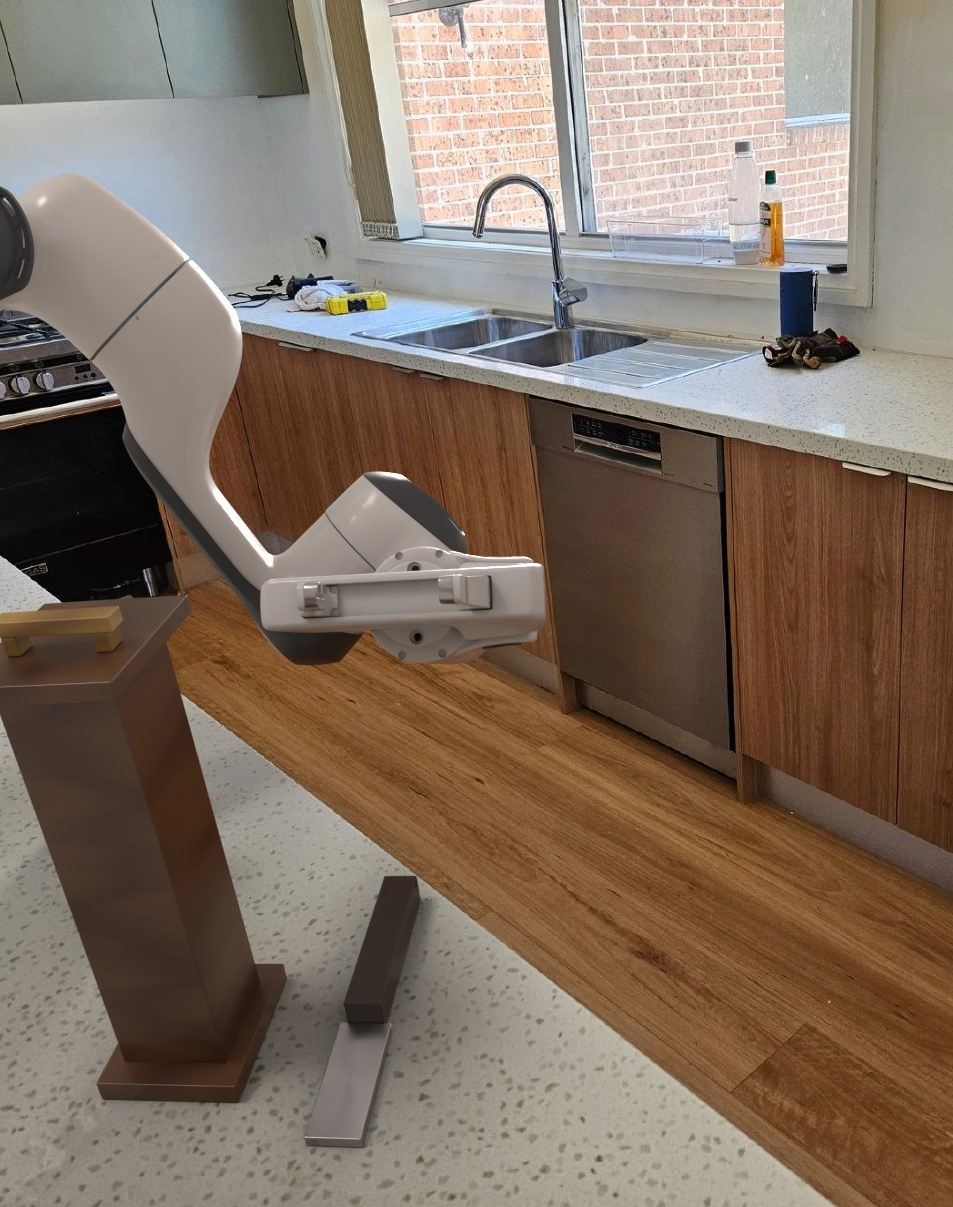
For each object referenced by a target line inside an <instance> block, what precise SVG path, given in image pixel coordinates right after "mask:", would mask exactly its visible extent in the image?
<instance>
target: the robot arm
mask: <svg viewBox="0 0 953 1207" xmlns="http://www.w3.org/2000/svg"><path fill="white" fill-rule="evenodd" d="M5 311H7V312H8V311H14V312H15V311H16V312H21V313H26V314H29V315H31V316H33V317H35V318H38V319H39V320H42V321H43V322H45V323H46V324H48V325H49V326H50V327H52V329H54V330H56V331H58V332H59V333H60V334H61V335H62V336H63V337H64V338H65V339H67V340H68V341H69V342H70V343H71V344H72V345H73V346H74V347H75V348H76V349H77V350H78V351H79V352H80V353H81V354H82V355H83V356H84V357H85V358H86V359H88V360H89V361H91V360H92V361H91V363H92V364H93V365H94V366H95V367H96V368H97V369H98V370H99V371H100V372H101V374H102V375H103V376H104V377H105V379H106V380H107V381H108V383H109V384H110V385H111V387H112V388H113V391H114V392H115V394H116V395H117V398H118V400H119V402H120V404H121V407H122V410H123V413H124V416H125V424H124V427H123V432H122V442H123V444H124V446H125V449H126V451H127V454H128V455H129V457H130V459H131V460H132V462H133V464H134V465H135V467H136V468H137V470H138V472H139V473H140V474H141V476H142V477H143V479H144V480H145V481H146V483H147V484H148V485H149V487H150V488H151V489H152V492H154V493H155V495H156V496H157V498H158V499H159V500H160V501H161V503H162V504H163V505H164V506H165V508H166V510H168V512H169V513H170V514H171V515H172V517H173V518H174V519H175V521H176V522H177V524H179V526H180V527H181V528H182V529H183V531H184V532H185V533H186V534H187V535H188V537H189V538H190V539H191V541H192V543H194V545H195V546H196V547H197V548H198V550H200V552H201V553H202V554H203V556H204V557H205V558H206V559H207V561H208V562H209V563H210V564H211V565H212V567H213V568H214V569H215V570H216V571H217V573H218V574H219V575H220V577H222V579H223V580H224V582H225V583H226V584H227V586H228V587H229V588H230V589H231V591H232V592H233V593H234V595H235V596H236V597H237V598H238V601H240V603H241V604H242V605H243V607H244V608H245V610H246V612H248V614H249V615H250V616H251V618H252V619H253V621H254V623H255V625H256V627H257V628H258V630H259V631H260V633H261V635H262V636H263V637H264V638H265V640H266V641H267V642H268V643H269V645H270V646H271V647H272V649H274V650H275V651H276V652H277V653H278V654H279V655H281V656H282V657H284V658H285V659H287V660H288V661H289V662H291V663H292V664H294V665H297V666H322V665H323V666H324V665H330V664H335V663H340V662H341V661H343V659H344V658H345V657H346V656H347V654H348V653H349V652H350V651H351V650H352V649H353V648H354V647H355V645H356V644H357V643H358V642H359V641H360V640H361V638H362V637H363V636H364V635H365V634H366V631H367V632H368V631H370V633H371V635H372V637H373V639H374V640H375V641H376V642H377V644H378V645H379V646H380V647H381V648H382V649H383V650H384V651H385V652H387V653H388V654H389V655H391V656H393V657H395V658H396V659H399V660H401V661H404V662H408V663H413V664H427V665H428V664H429V665H459V664H463V663H467V662H470V661H472V660H474V659H476V658H479V657H480V656H483V654H485V653H486V652H487V651H489V650H491V649H495V648H501V647H510V646H521V645H522V644H532V643H535V642H536V641H537V640H538V635H539V631H540V630H542V629H543V628H544V627H545V625H546V622H547V601H546V600H547V599H546V594H547V593H546V583H545V582H546V580H545V579H546V578H545V567H544V566H543V564H541V563H535V560H533V558H530V557H527V556H491V555H471V554H469V552H468V544H467V539H466V534H465V532H464V530H463V529H462V528H461V526H460V525H459V524H458V522H457V521H456V520H455V519H454V518H453V517H452V516H451V514H450V513H449V512H448V511H447V510H446V509H445V508H444V507H443V506H442V505H441V504H439V503H438V502H437V501H436V500H435V499H434V498H433V497H432V496H430V494H428V493H427V492H426V491H424V490H423V489H422V488H421V487H419V486H417V485H416V484H415V483H414V482H412V481H411V480H409V479H408V478H407V477H405V476H404V475H402V474H400V473H394V472H387V471H368V472H363V473H362V475H360V477H358V478H357V479H356V480H355V481H354V482H353V483H352V484H351V485H350V486H349V487H348V488H346V490H345V491H344V492H343V493H341V495H340V496H338V497H337V498H336V500H334V501H333V503H331V504H330V506H328V507H327V508H326V509H325V512H324V513H322V514H321V515H320V517H319V518H318V519H317V520H316V521H315V522H314V523H312V524H311V526H310V527H309V528H308V529H307V530H306V531H304V533H303V534H302V535H300V537H299V538H298V539H296V541H295V542H293V544H292V545H291V546H289V547H288V548H287V549H286V550H284V552H282V553H279V554H272V553H269V552H268V551H267V550H266V549H265V547H264V546H263V545H262V543H261V542H260V541H259V540H258V539H257V537H256V535H255V534H254V533H253V532H252V531H251V530H250V528H249V527H248V525H247V524H246V523H245V521H243V519H242V518H241V517H240V515H239V514H238V513H237V511H236V510H235V509H234V507H233V506H232V505H231V504H230V502H229V501H228V500H227V498H226V497H225V496H224V495H223V493H222V492H221V491H220V489H219V488H218V486H217V485H216V483H215V481H214V479H213V476H212V474H211V473H212V472H211V469H210V454H211V449H212V443H213V440H214V436H215V434H216V431H217V429H218V426H219V423H220V421H221V418H222V417H223V414H224V412H225V409H226V407H227V404H228V402H229V400H230V398H231V395H232V392H233V390H234V387H235V385H236V381H237V379H238V376H239V372H240V368H241V363H242V357H243V345H244V344H243V332H242V328H241V324H240V321H239V317H238V315H237V311H236V310H235V308H234V307H233V306H232V304H231V303H230V302H229V300H228V299H227V298H226V297H225V295H224V294H223V293H222V292H221V290H220V289H219V288H218V286H217V285H216V284H215V283H214V282H213V281H212V279H211V278H210V277H209V276H208V275H207V274H206V273H205V272H204V271H203V270H202V269H201V268H200V266H199V265H197V264H196V262H194V260H192V259H190V257H189V255H187V253H185V252H184V251H183V250H182V249H181V248H180V247H179V246H178V245H177V244H176V243H175V242H174V241H173V240H171V238H169V237H168V236H167V235H166V234H165V233H164V232H163V231H162V230H160V229H159V228H158V227H157V226H156V225H154V223H152V222H151V221H150V220H149V219H148V218H146V217H145V216H143V215H142V214H141V213H140V212H138V211H137V210H136V209H135V208H133V207H132V206H131V205H130V204H128V203H127V202H125V200H123V199H121V198H120V197H119V196H118V195H117V194H115V193H114V192H112V191H111V190H109V189H107V188H106V187H105V186H103V185H102V184H101V183H99V182H97V181H96V180H93V178H91V177H88V176H85V175H81V174H76V173H64V174H63V173H62V174H57V175H54V176H51V177H48V178H45V179H43V180H41V181H39V182H37V183H35V184H34V185H32V186H31V187H29V188H28V189H27V190H26V191H25V192H23V194H21V195H20V196H19V197H18V198H16V196H14V194H13V193H12V192H11V191H10V190H8V189H7V188H6V187H3V186H1V185H0V318H1V317H2V316H3V314H4V312H5Z"/></svg>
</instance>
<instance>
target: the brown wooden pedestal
mask: <svg viewBox="0 0 953 1207" xmlns="http://www.w3.org/2000/svg"><path fill="white" fill-rule="evenodd" d="M191 613H192V608H191V605H190V601H189V597H188V595H186V594H183V595H168V596H167V595H166V596H150V597H133V598H131V599H119V598H116V599H99V600H98V599H97V600H82V601H66V602H51V603H50V602H48V603H44V604H42V605H41V606H40V607H39V608H38V609H37V610H28V611H27V610H26V611H11V612H1V613H0V719H1V722H2V725H3V727H4V730H5V733H6V735H7V738H8V741H9V744H10V746H11V749H12V750H11V751H12V752H13V754H14V758H15V761H16V764H17V766H18V769H19V772H20V775H21V777H22V780H23V783H24V785H25V788H26V791H27V794H28V797H29V799H30V803H31V806H32V807H33V810H34V813H35V817H36V819H37V822H38V824H39V828H40V831H41V833H42V835H43V836H42V837H43V838H44V841H45V844H46V846H47V850H48V852H49V855H50V858H51V860H52V864H53V866H54V869H55V872H56V874H57V877H58V880H59V884H60V885H61V888H62V891H63V894H64V896H65V900H66V902H67V905H68V908H69V911H70V914H71V916H72V919H73V921H74V924H75V927H76V930H77V933H78V936H79V939H80V941H81V944H82V947H83V950H84V951H85V955H86V958H87V960H88V963H89V967H90V970H91V971H92V975H93V977H94V980H95V982H96V986H97V988H98V991H99V994H100V997H101V999H102V1002H103V1006H104V1007H105V1010H106V1014H107V1016H108V1019H109V1022H110V1025H111V1027H112V1030H113V1034H114V1036H115V1038H116V1041H117V1044H116V1046H115V1047H114V1049H113V1051H112V1053H111V1055H110V1057H109V1059H108V1060H107V1063H106V1065H105V1067H104V1068H103V1070H102V1072H101V1074H100V1075H99V1078H98V1079H97V1081H96V1087H97V1089H98V1092H99V1095H100V1097H101V1099H102V1100H127V1101H128V1100H129V1101H130V1100H131V1101H133V1100H135V1101H170V1102H171V1101H173V1102H204V1103H205V1102H207V1103H209V1102H211V1103H240V1101H241V1099H242V1096H243V1093H244V1091H245V1089H246V1086H247V1083H248V1080H249V1078H250V1075H251V1072H252V1070H253V1067H254V1065H255V1062H256V1059H257V1057H258V1054H259V1052H260V1049H261V1046H262V1044H263V1042H264V1039H265V1037H266V1034H267V1031H268V1029H269V1026H270V1024H271V1021H272V1019H273V1016H274V1013H275V1011H276V1008H277V1005H278V1003H279V1000H280V998H281V995H282V992H283V990H284V987H285V985H286V982H287V979H288V977H287V972H286V968H285V965H284V963H255V962H256V961H255V959H254V955H253V951H252V947H251V944H250V941H249V936H248V933H247V929H246V926H245V922H244V919H243V915H242V911H241V908H240V904H239V901H238V897H237V893H236V889H235V885H234V883H233V878H232V875H231V872H230V867H229V864H228V860H227V857H226V853H225V849H224V847H223V842H222V838H221V835H220V831H219V827H218V825H217V824H218V823H217V820H216V817H215V812H214V809H213V807H212V802H211V799H210V796H209V792H208V788H207V784H206V781H205V776H204V773H203V770H202V766H201V761H200V759H199V754H198V751H197V748H196V745H195V741H194V736H193V734H192V731H191V726H190V722H189V720H188V715H187V711H186V707H185V704H184V700H183V697H182V692H181V690H180V685H179V682H178V678H177V675H176V671H175V668H174V664H173V660H172V657H171V656H172V655H171V654H170V649H169V645H168V640H169V639H170V638H171V637H172V636H173V635H174V634H175V632H177V630H178V629H179V628H180V627H181V625H182V624H183V623H184V621H185V620H186V619H187V618H188V617H189V615H190V614H191Z"/></svg>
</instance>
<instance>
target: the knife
mask: <svg viewBox="0 0 953 1207" xmlns="http://www.w3.org/2000/svg"><path fill="white" fill-rule="evenodd" d="M381 882H382V883H381V884H380V887H379V888H380V889H379V892H378V895H377V897H376V901H375V904H374V908H373V910H372V914H371V916H370V920H369V922H368V926H367V929H366V931H365V934H364V938H363V941H362V944H361V948H360V950H359V953H358V956H357V957H358V958H357V961H356V963H355V966H354V969H353V972H352V976H351V978H350V981H349V985H348V988H347V992H346V994H345V997H344V1000H343V1004H342V1005H343V1008H344V1013H345V1017H346V1022H340V1023H339V1026H338V1029H337V1033H336V1036H335V1038H334V1041H333V1045H332V1048H331V1051H330V1055H329V1058H328V1060H327V1063H326V1067H325V1070H324V1073H323V1076H322V1080H321V1083H320V1086H319V1089H318V1092H317V1095H316V1098H315V1102H314V1104H313V1108H312V1112H311V1114H310V1117H309V1120H308V1124H307V1127H306V1130H305V1133H304V1135H303V1136H304V1137H303V1140H304V1144H305V1145H306V1146H318V1147H320V1146H321V1147H344V1148H345V1147H346V1148H352V1147H353V1148H363V1147H364V1142H365V1138H366V1134H367V1131H368V1126H369V1122H370V1119H371V1115H372V1111H373V1107H374V1104H375V1100H376V1097H377V1092H378V1088H379V1085H380V1081H381V1077H382V1073H383V1069H384V1065H385V1061H386V1057H387V1054H388V1050H389V1047H390V1046H389V1045H390V1043H391V1038H392V1034H393V1026H392V1023H389V1019H390V1015H391V1012H392V1008H393V1005H394V1000H395V997H396V993H397V989H398V985H399V982H400V979H401V975H402V972H403V968H404V963H405V959H406V957H407V956H406V955H407V952H408V949H409V944H410V941H411V937H412V933H413V929H414V926H415V922H416V918H417V915H418V912H419V907H420V904H421V901H422V900H421V898H422V897H421V892H420V887H419V882H418V877H417V875H384V876H383V879H382V881H381Z"/></svg>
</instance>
